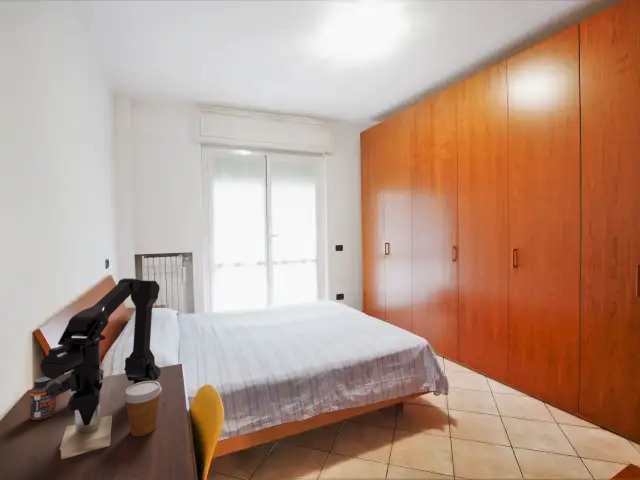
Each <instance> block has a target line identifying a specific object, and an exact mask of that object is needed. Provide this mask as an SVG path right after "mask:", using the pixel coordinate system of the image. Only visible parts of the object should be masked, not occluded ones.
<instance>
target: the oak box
mask: <svg viewBox="0 0 640 480" xmlns="http://www.w3.org/2000/svg"><path fill="white" fill-rule="evenodd" d="M112 420H113V415H107V416H103V417H100V422H101V424H100V426H99V427H97V428H96V429H94V430H92V431H89V432H86V433H77V432H75V423H74V424H71V425H67V426H66V428H65V430H64V434H63V437H62V440H61V444H60V446H59V451H60V459H61V460H65V459H68V458H72V457H75V456H78V455H81V454H86V453H88V452H92V451H96V450H99V449H102V448H103V449H104V448H106V447H109V446H110V445H111V434H112V432H111V431H112V422H113V421H112Z"/></svg>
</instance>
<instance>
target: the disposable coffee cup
mask: <svg viewBox="0 0 640 480" xmlns="http://www.w3.org/2000/svg"><path fill="white" fill-rule="evenodd" d="M133 384H134V383H133ZM161 393H162V386H161V384H160V382H158V381H156V380H155V381H144V382H139V383H136V384H134V385H132V384H131V385H130V386H128V387H127V388H126V389H125V392H124V394H123V397H122V398H123V400H124V401H125V405H126V412H127V417H128V425H129V431H130V432H129V433H130V435H131V436H134V437H143V436H146V435H148V434H150V433H152V432H153V431H154V430H155V429H156V428H157V427H156V426H157V421H158V412H159V406H160V405H159V403H160V396H161Z"/></svg>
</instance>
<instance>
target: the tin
mask: <svg viewBox="0 0 640 480" xmlns="http://www.w3.org/2000/svg"><path fill="white" fill-rule="evenodd" d="M100 397H101V393H100ZM100 418H101V401H100V402H99V404H98V405H97V408H96V410H95V412H94V415H93V417H92V419H91V422H90V424H89V425H86V426H85V425H84V423H83V421H82V418H81V415H80V413H79V410H75V411H74V424H75V432H77V433H86V432H89V431H92V430H94V429H96V428H97V427H99V426H100V424H101V422H100Z"/></svg>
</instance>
